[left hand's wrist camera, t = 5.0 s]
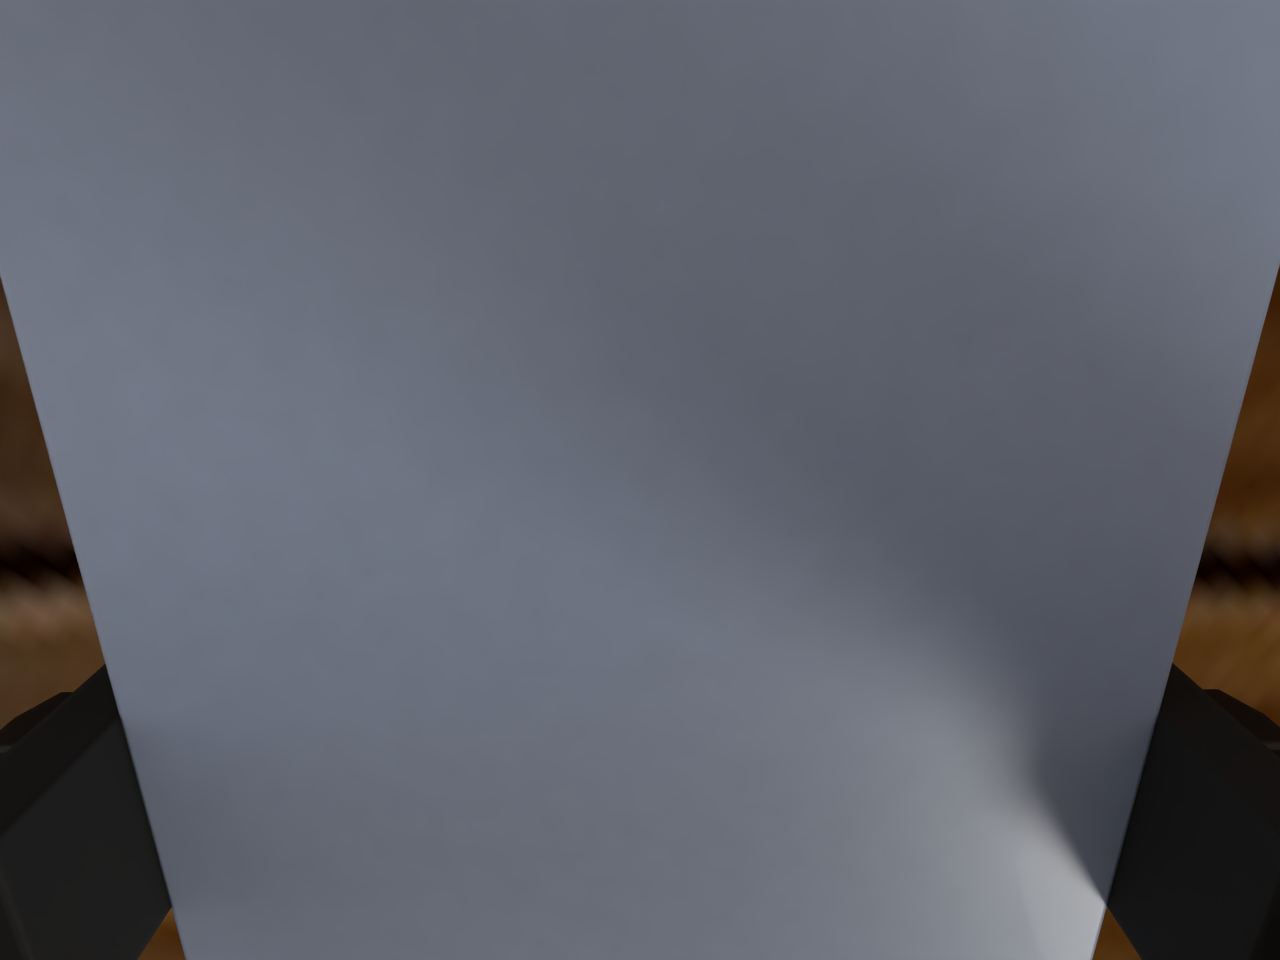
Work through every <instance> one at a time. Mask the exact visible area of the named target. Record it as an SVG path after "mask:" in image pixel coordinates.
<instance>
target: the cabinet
mask: <svg viewBox="0 0 1280 960" xmlns="http://www.w3.org/2000/svg"><path fill="white" fill-rule="evenodd" d="M1279 265H1280V0H0V277H1V280H2V284H3V288H4V291H5V295H6V299H7V302H8V306H9V310H10V313H11V317H12V321H13V324H14V328H15V332H16V336H17V339H18V343H19V347H20V350H21V354H22V358H23V361H24V365H25V369H26V372H27V376H28V380H29V383H30V387H31V391H32V394H33V398H34V402H35V406H36V409H37V413H38V417H39V420H40V424H41V428H42V431H43V435H44V439H45V442H46V446H47V450H48V453H49V457H50V461H51V464H52V468H53V472H54V475H55V479H56V483H57V487H58V490H59V494H60V498H61V501H62V505H63V509H64V512H65V516H66V520H67V523H68V527H69V531H70V534H71V538H72V542H73V545H74V549H75V553H76V557H77V560H78V564H79V568H80V571H81V575H82V579H83V582H84V586H85V590H86V593H87V597H88V601H89V604H90V608H91V612H92V615H93V619H94V623H95V627H96V630H97V634H98V638H99V641H100V645H101V649H102V652H103V656H104V660H105V663H106V667H107V671H108V674H109V678H110V682H111V685H112V689H113V693H114V697H115V700H116V704H117V708H118V711H119V715H120V719H121V722H122V726H123V730H124V733H125V737H126V741H127V744H128V748H129V752H130V755H131V759H132V763H133V767H134V770H135V774H136V778H137V781H138V785H139V789H140V792H141V796H142V800H143V803H144V807H145V811H146V814H147V818H148V822H149V825H150V829H151V833H152V836H153V840H154V844H155V848H156V851H157V855H158V859H159V862H160V866H161V870H162V873H163V877H164V881H165V884H166V888H167V892H168V895H169V899H170V903H171V906H172V910H173V914H174V918H175V921H176V925H177V929H178V932H179V936H180V940H181V943H182V947H183V951H184V954H185V958H186V960H1092V958H1093V954H1094V951H1095V947H1096V943H1097V939H1098V936H1099V932H1100V928H1101V925H1102V921H1103V917H1104V913H1105V910H1106V906H1107V902H1108V899H1109V895H1110V891H1111V888H1112V884H1113V880H1114V876H1115V873H1116V869H1117V865H1118V862H1119V858H1120V854H1121V850H1122V847H1123V843H1124V839H1125V836H1126V832H1127V828H1128V825H1129V821H1130V817H1131V813H1132V810H1133V806H1134V802H1135V799H1136V795H1137V791H1138V787H1139V784H1140V780H1141V776H1142V773H1143V769H1144V765H1145V761H1146V758H1147V754H1148V750H1149V747H1150V743H1151V739H1152V736H1153V732H1154V728H1155V724H1156V721H1157V717H1158V713H1159V710H1160V706H1161V702H1162V698H1163V695H1164V691H1165V687H1166V684H1167V680H1168V676H1169V673H1170V669H1171V665H1172V661H1173V658H1174V654H1175V650H1176V647H1177V643H1178V639H1179V635H1180V632H1181V628H1182V624H1183V621H1184V617H1185V613H1186V610H1187V606H1188V602H1189V598H1190V595H1191V591H1192V587H1193V584H1194V580H1195V576H1196V572H1197V569H1198V565H1199V561H1200V558H1201V554H1202V550H1203V547H1204V543H1205V539H1206V535H1207V532H1208V528H1209V524H1210V521H1211V517H1212V513H1213V509H1214V506H1215V502H1216V498H1217V495H1218V491H1219V487H1220V483H1221V480H1222V476H1223V472H1224V469H1225V465H1226V461H1227V458H1228V454H1229V450H1230V446H1231V443H1232V439H1233V435H1234V432H1235V428H1236V424H1237V420H1238V417H1239V413H1240V409H1241V406H1242V402H1243V398H1244V395H1245V391H1246V387H1247V383H1248V380H1249V376H1250V372H1251V369H1252V365H1253V361H1254V357H1255V354H1256V350H1257V346H1258V343H1259V339H1260V335H1261V332H1262V328H1263V324H1264V320H1265V317H1266V313H1267V309H1268V306H1269V302H1270V298H1271V294H1272V291H1273V287H1274V283H1275V280H1276V276H1277V272H1278V269H1279Z"/></svg>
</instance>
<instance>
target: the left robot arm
mask: <svg viewBox="0 0 1280 960" xmlns="http://www.w3.org/2000/svg"><path fill="white" fill-rule="evenodd" d="M171 907H172V906H171V903H170V899H169V895H168V892H167V888H166V884H165V881H164V877H163V873H162V870H161V866H160V862H159V859H158V855H157V851H156V848H155V844H154V840H153V836H152V833H151V829H150V825H149V822H148V818H147V814H146V811H145V807H144V803H143V800H142V796H141V792H140V789H139V785H138V781H137V778H136V774H135V770H134V767H133V763H132V759H131V755H130V752H129V748H128V744H127V741H126V737H125V733H124V730H123V726H122V722H121V719H120V715H119V711H118V708H117V704H116V700H115V697H114V693H113V689H112V685H111V682H110V678H109V674H108V671H107V667H106V664H105V665H104V666H102V667H101V668H100V669H99V670H98V671H97V672H96V673H95V674H93V675H92V676H91V677H90V678H89V679H88V680H87V681H85V682H84V683H83V684H82V685H81V686H80V687H79V688H78V689H76V690H75V691H74V692H61V693H59V694H57V695H55V696H54V697H52V698H50V699H48V700H46V701H44V702H43V703H41V704H39V705H37V706H35V707H34V708H32V709H30V710H28V711H26V712H24V713H23V714H21V715H19V716H17V717H15V718H14V719H13V720H12V721H11V722H9V723H8V724H7V725H6V726H5V727H3V728H2V729H1V730H0V960H137V959H138V957H139V956H140V954H141V953H142V951H143V950H144V948H145V947H146V945H147V944H148V942H149V941H150V939H151V937H152V936H153V934H154V933H155V931H156V930H157V928H158V927H159V925H160V924H161V922H162V921H163V919H164V918H165V916H166V914H167V913H168V911H169V910H170V908H171ZM1107 907H1108V908H1109V910H1110V911H1111V913H1112V914H1113V916H1114V917H1115V919H1116V920H1117V922H1118V924H1119V925H1120V927H1121V928H1122V930H1123V931H1124V933H1125V934H1126V936H1127V937H1128V939H1129V940H1130V942H1131V943H1132V945H1133V947H1134V948H1135V950H1136V951H1137V953H1138V954H1139V956H1140V957H1141V959H1142V960H1280V727H1279V726H1278V725H1276V724H1275V723H1274V722H1273V721H1272V720H1270V719H1269V718H1268V717H1267V716H1266V715H1264V714H1263V713H1261V712H1259V711H1257V710H1255V709H1253V708H1252V707H1250V706H1248V705H1246V704H1244V703H1242V702H1241V701H1239V700H1237V699H1235V698H1233V697H1231V696H1230V695H1228V694H1226V693H1224V692H1222V691H1220V690H1219V689H1201V688H1200V687H1199V686H1198V685H1197V684H1196V683H1195V682H1193V681H1192V680H1191V679H1190V678H1189V677H1188V676H1187V675H1186V674H1184V673H1183V672H1182V671H1181V670H1180V669H1179V668H1178V667H1177V666H1175V665H1174V664H1173V663H1172V665H1171V669H1170V673H1169V676H1168V680H1167V684H1166V687H1165V691H1164V695H1163V698H1162V702H1161V706H1160V710H1159V713H1158V717H1157V721H1156V724H1155V728H1154V732H1153V736H1152V739H1151V743H1150V747H1149V750H1148V754H1147V758H1146V761H1145V765H1144V769H1143V773H1142V776H1141V780H1140V784H1139V787H1138V791H1137V795H1136V799H1135V802H1134V806H1133V810H1132V813H1131V817H1130V821H1129V825H1128V828H1127V832H1126V836H1125V839H1124V843H1123V847H1122V850H1121V854H1120V858H1119V862H1118V865H1117V869H1116V873H1115V876H1114V880H1113V884H1112V888H1111V891H1110V895H1109V899H1108V902H1107Z"/></svg>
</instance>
